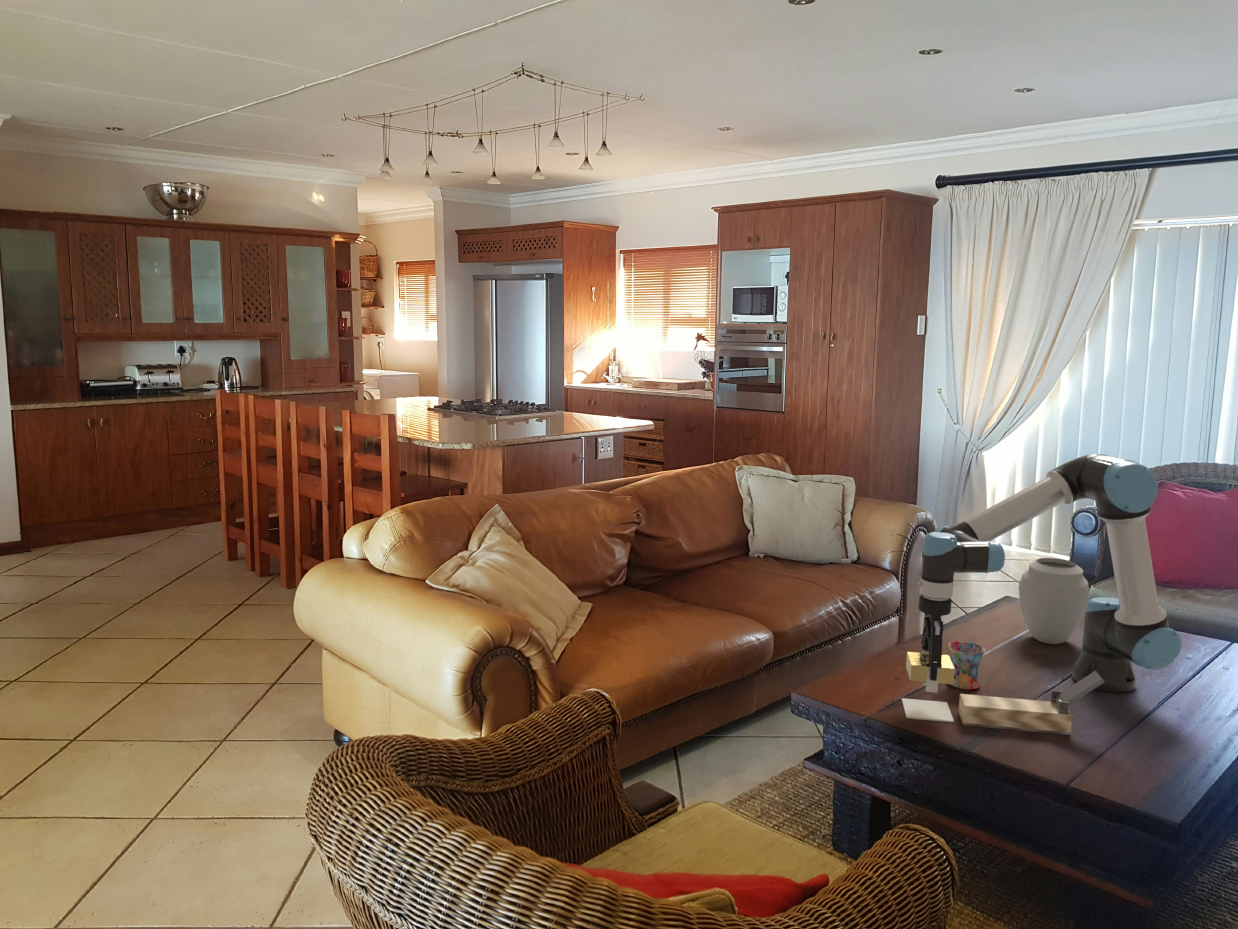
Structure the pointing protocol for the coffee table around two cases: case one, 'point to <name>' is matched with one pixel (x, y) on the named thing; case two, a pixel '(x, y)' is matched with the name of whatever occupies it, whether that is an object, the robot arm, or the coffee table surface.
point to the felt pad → (927, 710)
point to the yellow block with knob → (919, 670)
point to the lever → (1080, 688)
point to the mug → (966, 663)
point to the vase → (1053, 599)
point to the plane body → (1016, 713)
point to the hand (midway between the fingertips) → (928, 683)
